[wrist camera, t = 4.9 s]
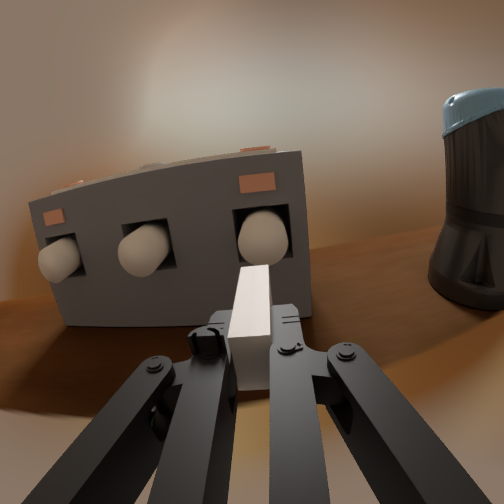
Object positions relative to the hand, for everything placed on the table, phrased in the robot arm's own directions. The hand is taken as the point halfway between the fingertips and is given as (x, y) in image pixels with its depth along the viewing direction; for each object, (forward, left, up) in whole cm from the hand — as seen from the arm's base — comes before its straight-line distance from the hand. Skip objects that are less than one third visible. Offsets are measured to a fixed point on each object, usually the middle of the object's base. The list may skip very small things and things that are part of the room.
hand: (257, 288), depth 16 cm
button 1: (+22, -11, -2) cm, 24 cm away
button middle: (+11, -11, -2) cm, 15 cm away
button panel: (+11, -15, -9) cm, 21 cm away
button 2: (0, -11, -2) cm, 11 cm away
